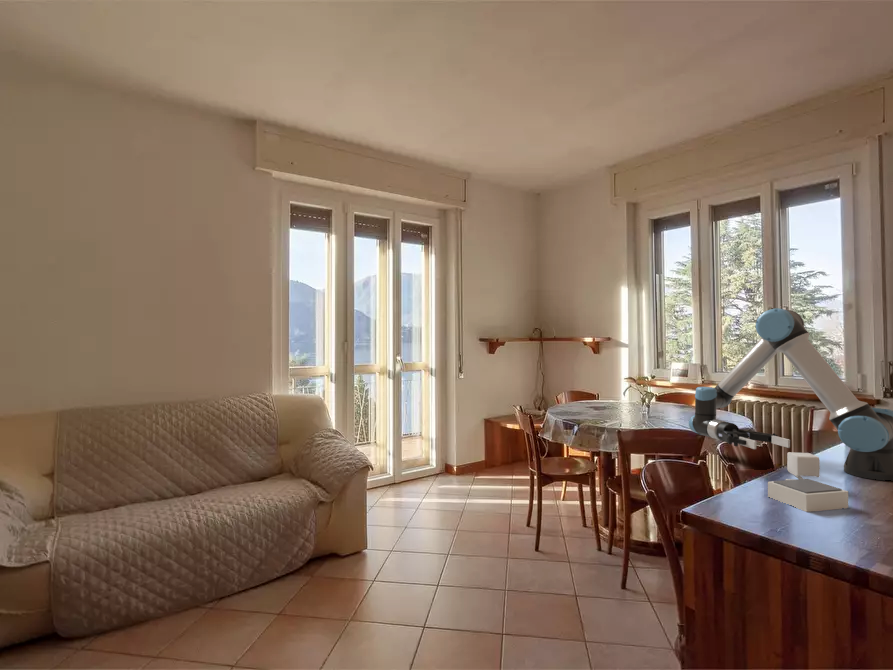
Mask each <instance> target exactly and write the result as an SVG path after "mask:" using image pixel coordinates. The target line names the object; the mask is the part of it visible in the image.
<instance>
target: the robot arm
mask: <svg viewBox="0 0 893 670" xmlns="http://www.w3.org/2000/svg"><path fill="white" fill-rule="evenodd" d="M755 330H756V333H757V334H758V336H759V337H760V339H759V340H758V341H757V342H756V343H755V344H754V346H752V347H751V349H750V350H748V351H747V353H746V354H745V355H744V356H743V357H742V358H741V359H740V360H739V361H738V363H736V365H734V367H733V368H731V370H730V371H729V372H728V373H727V374H726V375H725V376H724V377H723V378H722V380H720V381H719V382H718V384H717V385H716V386H715V387H713V386H712V387H710V386H698V387H696V388H695V394H694V401H695V402H694V403H695V404H694V415H692V416H691V417H690V419H689V420H688V427H689V429H690V430H691V431H692V432H693V433H696V434H698V435H700V436H704V437H708V438H712V439H714V440H716V442H717V441H718V442H719V441H721V442H724V443H726V444H729V445H732V444H733V446H734V447H738V446H743V447H746V448H750V449H752V450H757V441H758V442H767V443H771V444H774V445H778V446H780V447H784V448H788V449H790V448H791V439H789V438H784V437H780V436H778V434H776V433H767V432H760V431H755V430H749V429H748V430H746V429H742V428H741V429H740V428H739V426H738V425H737V424H736V423H734V422H729V421H725V420H721V419H717V409H722V408H726V407H727V406H729V405H730V404H731V402H732V399H733V398H734V397H736V395H737V394H738V393H739V392H740V391H741V390H742V389H743V388H744V387H745V386H746V385H747V384H748V383H749V382H750V381H751V380H752V379H754V377H755V376H756V375H757V374H758V373H759V372H760V371H761V370H762V369H763V368H764V367H765V366H766V365H767V364H768V363H769V362H770V361H771V359H772V358H774V356H776V355H777V354H778V353H782V354H783V355H784V356H785V357H786V358H787V360H788V361H789V362H790V363H791V365H792V367H794V368H795V370H796V372H798V374H799V375H800V376H801V378H803V380H804V381H805V382H806V383H807V385H808V386H809V387H810V389H811V390H812V391H813V393H814V394H815V395H816V397H818V399H819V400H820V402H821V403H822V405H824V406H825V408H826V409H827V410H828V411H829V413H830V414H829V419H828V420H829V421H830V422H831V423H832V425H833V426H834V427H835V428H836V430H837V435H838V437H839V439H840V440H841V442H842V443H843V444H844V445H845V446H846V447H848V448H849V451H848V454H847V457H845V461H844V463H843V471H844V473H846V474H849V475H853V476H854V477H855V476H856V477H859V478H863V479H869V480H875V479H876V480H877V481H885V480H891V481H890V482H893V410H892V409H891V408H880V407H879V408H878V407H877V408H876V407H871V405H870V404H869V403H868V402H865V401H861V400H859V399H858V398H857V396H855V394H853V392H852V391H851V390H850V388H849V387H848V386H847V385H846V384H845V383H844V381H843V380H842V379H841V378H840V376H839V375H838V374H837V373H836V372H835V370H834V368H832V367H831V366H830V365H829V363H828V361H826V359H824V357H823V356H822V355H821V354H820V352H819V351H818V350H817V349H816V347H814V345H813V344H812V343H811V341H809V337H810V332H809V331H808V330H807V329H806V328H805V321H804V319H803V317H802V316H801V314H799V313H798V312H797V311H794V310H790V309H784V308H779V307H778V308H771V309H768V310H765V311H764V312H762V313H761V314H759V316H758V317H757V319H756V322H755Z"/></svg>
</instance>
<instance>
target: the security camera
mask: <svg viewBox="0 0 893 670" xmlns="http://www.w3.org/2000/svg"><path fill="white" fill-rule="evenodd" d="M786 456H787V458H786V460H787V465H786V466H787V471H788V473H790V474H792V475H793V476H795V477H796V478H795V479H794V478H785V480H796V479H804V477H816V478H820V474H821V473H820V467H821V466H820V457H819V456H817V455H815V454H812V453H809V452H793V451H791V452H790V451H789V452H787V455H786ZM802 476H803V477H802Z"/></svg>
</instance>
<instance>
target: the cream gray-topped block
mask: <svg viewBox="0 0 893 670" xmlns="http://www.w3.org/2000/svg"><path fill="white" fill-rule="evenodd" d="M795 479H796V480H774V481H773V480H772V481H767V498H768V497H770V498H769V499H771V498H773V499H772V500H774V499H775V500H774V501H776V500H778V501H777V502H779V501H780V502H779V503H782V502H783V503H782V504H784V503H786V504H785V505H787V504H789V505H792V506H794V507H793V508H795V507H796V509H797V508H798V510H800V509H801V511H803V512H806V513H808V512H809V513H810V512H820V511H831V510H842V508H844V509H849V491H848V490H844V489H842V488H839V487H835V486H832V485H829V484H826V483H823V482H819V481H817V480H816V481H815V480H813V479H809V478H803V479H798V478H795ZM789 505H788V506H789ZM792 506H791V507H792Z"/></svg>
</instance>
